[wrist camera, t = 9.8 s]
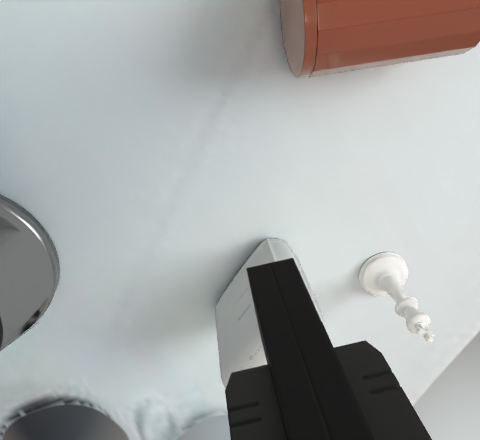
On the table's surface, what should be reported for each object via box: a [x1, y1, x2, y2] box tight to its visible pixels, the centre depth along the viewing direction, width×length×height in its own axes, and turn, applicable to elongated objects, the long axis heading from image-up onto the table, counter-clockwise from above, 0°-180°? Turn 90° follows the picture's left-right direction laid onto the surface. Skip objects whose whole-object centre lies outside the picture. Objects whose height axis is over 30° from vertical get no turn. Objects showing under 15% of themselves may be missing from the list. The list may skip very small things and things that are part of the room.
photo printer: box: [215, 239, 323, 388], centre depth 38 cm, size 10×4×12 cm, turn 147°
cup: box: [280, 0, 480, 78], centre depth 30 cm, size 8×8×12 cm
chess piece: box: [359, 252, 436, 342], centre depth 40 cm, size 5×5×10 cm
